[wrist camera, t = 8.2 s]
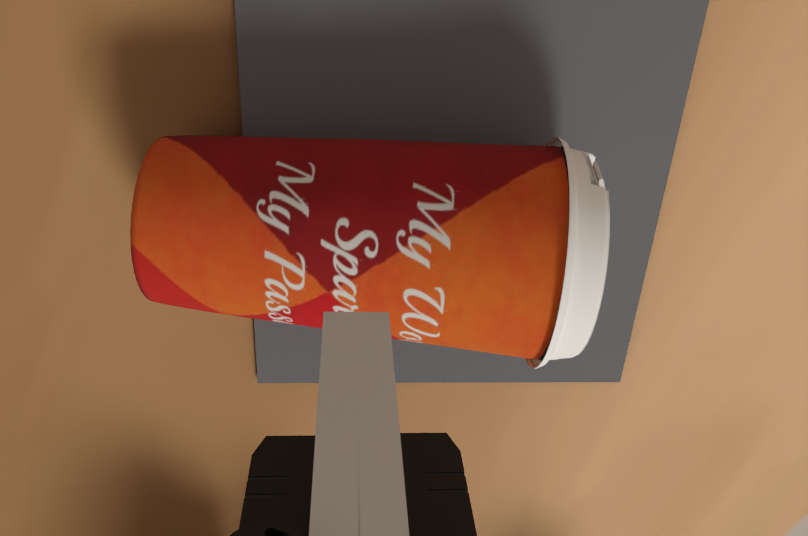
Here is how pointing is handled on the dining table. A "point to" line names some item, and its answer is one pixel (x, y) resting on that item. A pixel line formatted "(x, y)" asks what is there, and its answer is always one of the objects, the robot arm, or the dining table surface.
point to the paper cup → (380, 236)
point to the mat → (481, 125)
